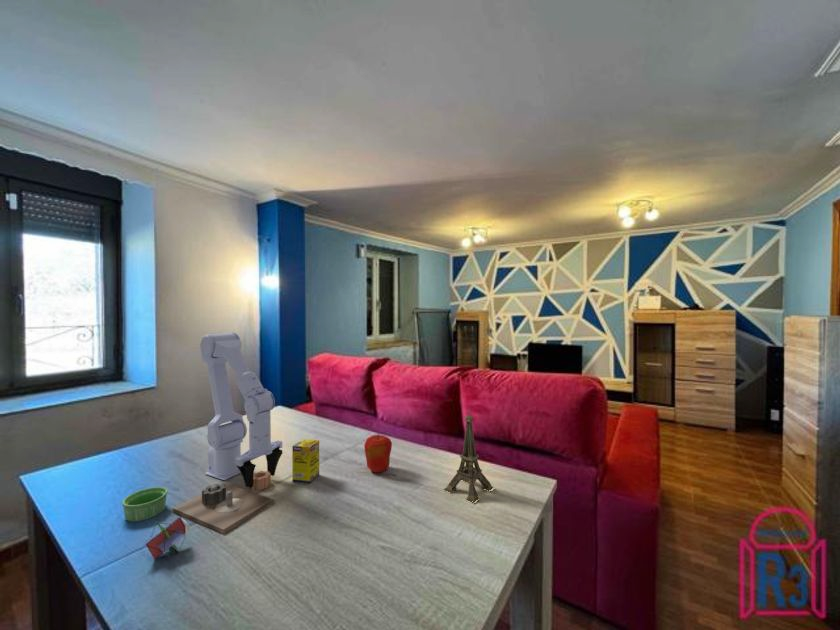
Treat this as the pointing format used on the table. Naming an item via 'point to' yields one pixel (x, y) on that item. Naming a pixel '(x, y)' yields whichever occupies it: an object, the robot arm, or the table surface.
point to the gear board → (222, 507)
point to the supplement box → (305, 460)
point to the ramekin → (145, 503)
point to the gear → (261, 480)
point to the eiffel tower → (469, 466)
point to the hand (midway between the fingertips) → (260, 480)
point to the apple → (378, 453)
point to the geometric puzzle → (168, 537)
